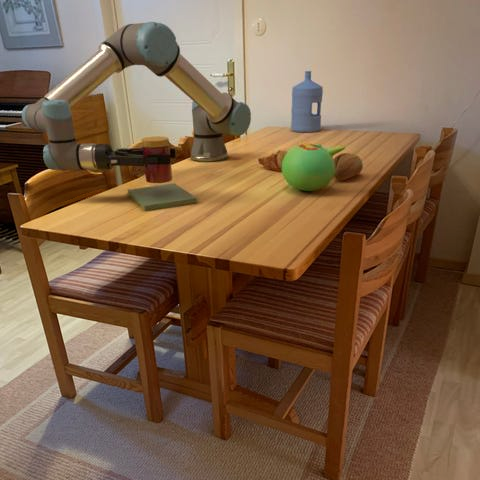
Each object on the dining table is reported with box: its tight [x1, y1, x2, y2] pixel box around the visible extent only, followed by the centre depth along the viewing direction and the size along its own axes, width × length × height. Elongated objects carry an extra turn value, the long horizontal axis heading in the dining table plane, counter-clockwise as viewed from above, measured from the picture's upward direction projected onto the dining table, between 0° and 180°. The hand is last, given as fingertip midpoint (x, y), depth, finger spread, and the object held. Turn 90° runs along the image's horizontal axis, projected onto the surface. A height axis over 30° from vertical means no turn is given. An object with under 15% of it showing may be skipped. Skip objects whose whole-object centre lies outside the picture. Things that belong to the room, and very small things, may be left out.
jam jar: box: [141, 144, 173, 184], centre depth 145 cm, size 8×8×11 cm
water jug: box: [290, 70, 324, 133], centre depth 250 cm, size 16×16×28 cm
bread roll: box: [333, 152, 364, 181], centre depth 166 cm, size 10×15×8 cm, turn 149°
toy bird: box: [281, 141, 346, 192], centre depth 153 cm, size 18×17×15 cm
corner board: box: [127, 183, 198, 212], centre depth 150 cm, size 20×16×2 cm
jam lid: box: [141, 135, 170, 148], centre depth 142 cm, size 8×8×2 cm
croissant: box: [257, 149, 288, 172], centre depth 180 cm, size 21×10×8 cm, turn 63°
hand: (172, 156), depth 144 cm, fingers closed on jam jar, 8 cm apart
